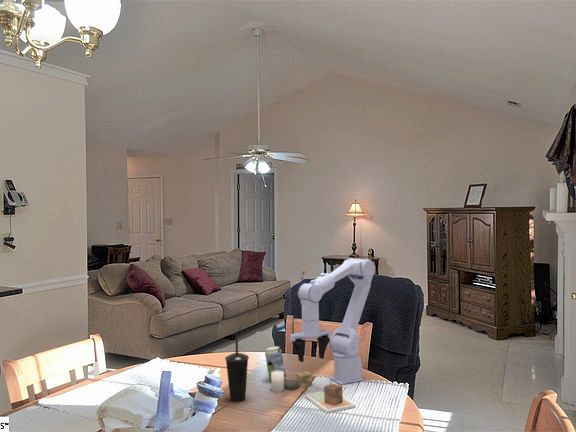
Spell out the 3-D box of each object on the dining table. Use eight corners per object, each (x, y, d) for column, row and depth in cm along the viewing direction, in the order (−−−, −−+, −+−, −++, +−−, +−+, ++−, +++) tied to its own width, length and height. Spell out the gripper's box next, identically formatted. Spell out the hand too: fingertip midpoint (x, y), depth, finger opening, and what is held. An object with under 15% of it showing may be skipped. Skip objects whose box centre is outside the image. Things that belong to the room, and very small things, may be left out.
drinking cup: (253, 396, 166) (252, 335, 166) (243, 404, 159) (242, 341, 159) (232, 394, 169) (230, 334, 169) (221, 402, 162) (220, 339, 162)
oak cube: (306, 382, 179) (306, 371, 179) (312, 386, 175) (311, 374, 175) (296, 384, 177) (296, 373, 177) (301, 388, 173) (301, 376, 173)
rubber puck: (297, 384, 177) (296, 379, 177) (299, 389, 172) (299, 383, 172) (283, 386, 176) (282, 380, 176) (285, 391, 171) (284, 385, 171)
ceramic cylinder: (281, 386, 175) (280, 369, 175) (286, 390, 171) (286, 373, 171) (269, 388, 173) (269, 371, 173) (274, 392, 169) (274, 375, 169)
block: (332, 398, 160) (332, 383, 160) (342, 402, 157) (342, 386, 157) (324, 402, 157) (324, 386, 157) (334, 405, 154) (334, 389, 154)
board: (331, 392, 169) (331, 389, 169) (355, 407, 155) (355, 404, 155) (304, 397, 164) (304, 394, 164) (326, 413, 151) (326, 410, 151)
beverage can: (284, 384, 178) (283, 350, 178) (263, 383, 179) (262, 349, 179) (287, 378, 184) (286, 345, 184) (268, 377, 185) (267, 344, 185)
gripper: (323, 315, 177) (324, 353, 177) (286, 319, 171) (286, 359, 171) (333, 318, 171) (334, 358, 171) (294, 323, 165) (295, 365, 165)
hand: (311, 359), depth 171 cm, fingers open, 7 cm apart
